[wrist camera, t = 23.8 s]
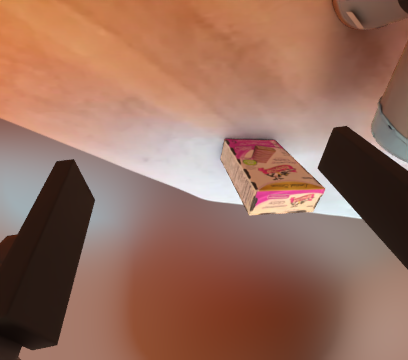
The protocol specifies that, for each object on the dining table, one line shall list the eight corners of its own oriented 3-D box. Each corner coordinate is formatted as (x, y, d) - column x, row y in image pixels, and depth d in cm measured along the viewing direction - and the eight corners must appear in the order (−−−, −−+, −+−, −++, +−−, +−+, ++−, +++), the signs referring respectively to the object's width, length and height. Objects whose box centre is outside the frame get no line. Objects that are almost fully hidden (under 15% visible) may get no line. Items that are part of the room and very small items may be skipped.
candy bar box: (275, 137, 45) (328, 188, 32) (268, 159, 48) (314, 213, 35) (223, 136, 42) (257, 191, 29) (218, 159, 45) (248, 217, 32)
